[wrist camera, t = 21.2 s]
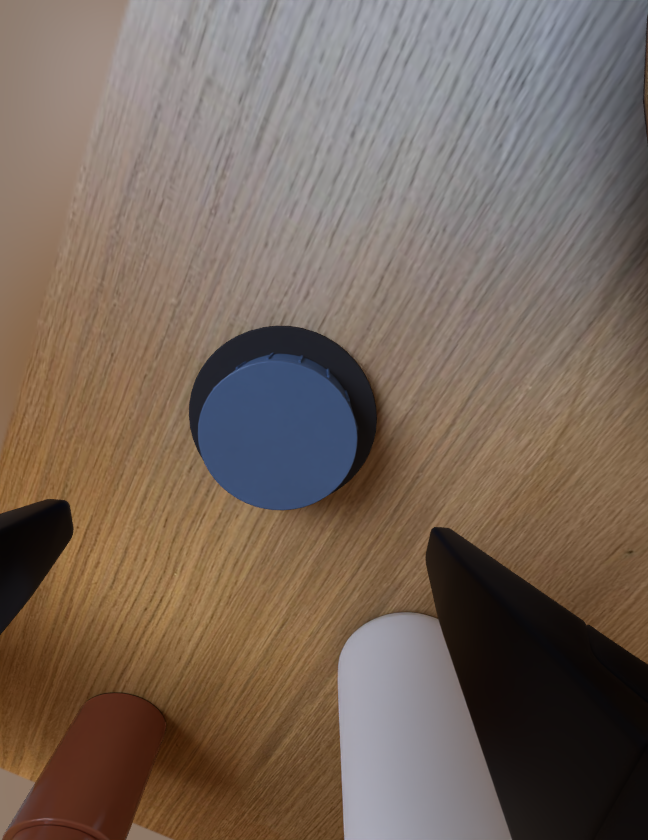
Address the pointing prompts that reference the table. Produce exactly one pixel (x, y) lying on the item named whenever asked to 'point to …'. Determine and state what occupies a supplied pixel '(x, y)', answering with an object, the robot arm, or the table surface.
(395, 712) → the mug
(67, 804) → the jar
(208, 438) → the jar lid
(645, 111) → the ceramic bowl
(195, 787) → the table surface
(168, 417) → the table surface
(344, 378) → the coaster
